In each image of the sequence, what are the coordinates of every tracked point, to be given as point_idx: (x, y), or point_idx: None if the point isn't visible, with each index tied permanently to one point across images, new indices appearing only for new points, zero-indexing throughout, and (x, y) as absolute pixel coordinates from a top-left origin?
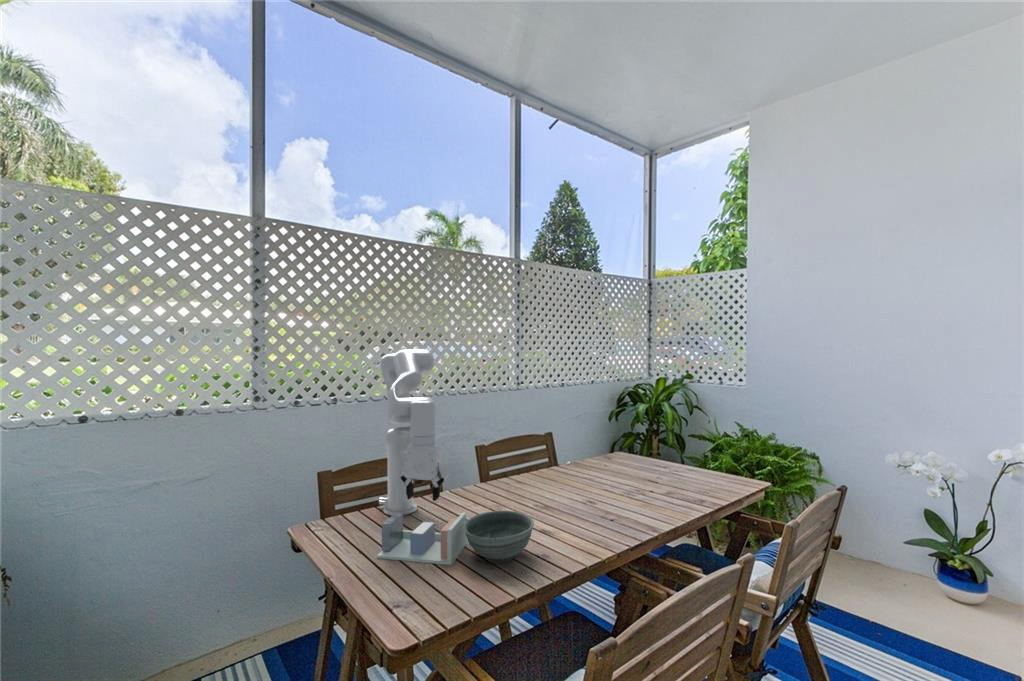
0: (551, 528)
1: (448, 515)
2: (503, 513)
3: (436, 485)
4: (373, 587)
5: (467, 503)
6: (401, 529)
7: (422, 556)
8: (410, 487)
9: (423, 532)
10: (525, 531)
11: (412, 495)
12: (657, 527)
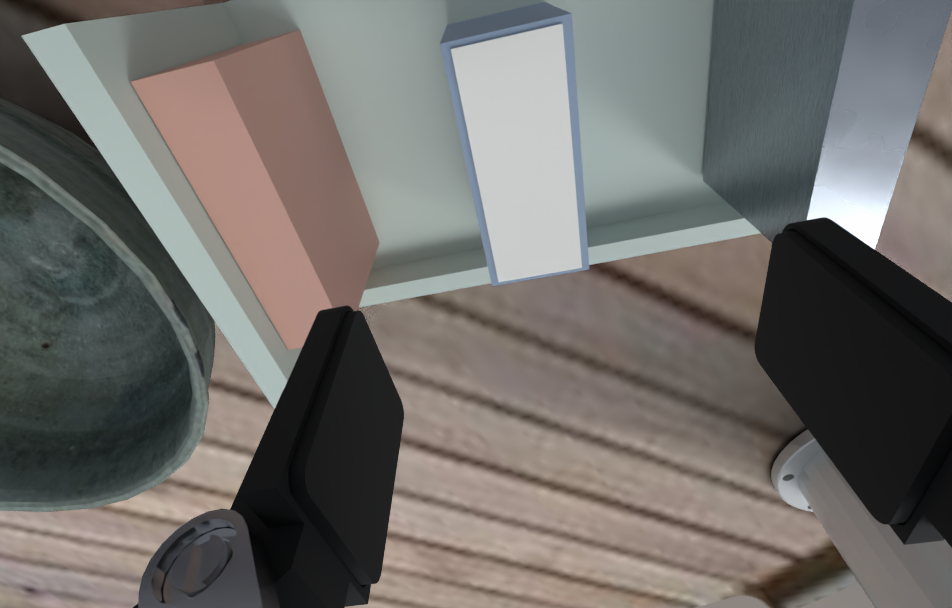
0: (137, 504)
1: (598, 476)
2: (105, 484)
3: (201, 565)
4: None
5: (576, 561)
6: (737, 186)
7: (437, 3)
8: (911, 398)
9: (458, 83)
10: None
11: (769, 335)
12: None
